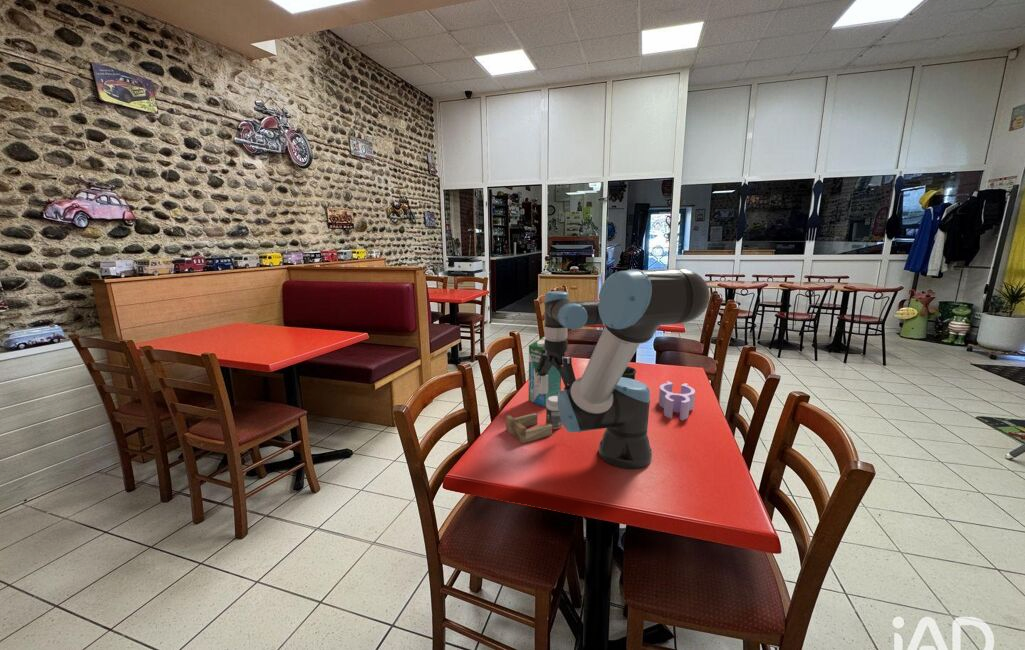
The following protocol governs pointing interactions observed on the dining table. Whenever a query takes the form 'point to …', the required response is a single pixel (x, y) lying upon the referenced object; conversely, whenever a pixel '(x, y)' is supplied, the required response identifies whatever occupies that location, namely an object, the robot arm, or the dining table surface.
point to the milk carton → (534, 376)
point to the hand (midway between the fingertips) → (555, 399)
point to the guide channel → (521, 434)
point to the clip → (676, 400)
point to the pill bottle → (553, 413)
